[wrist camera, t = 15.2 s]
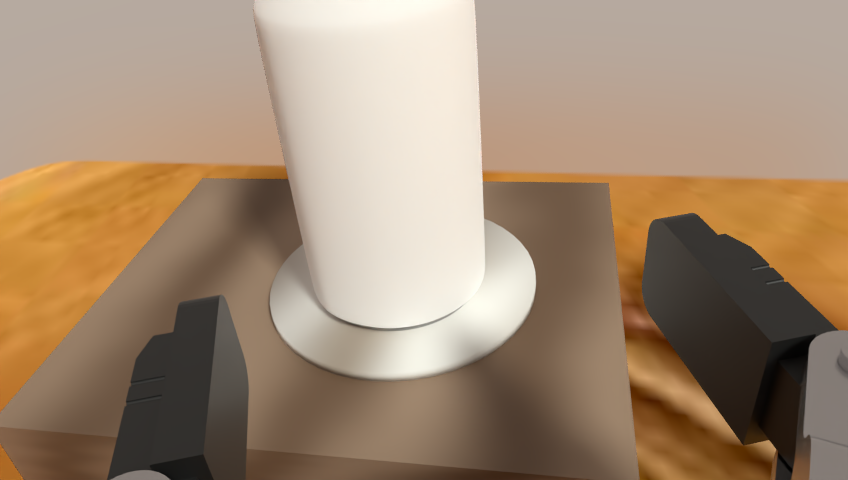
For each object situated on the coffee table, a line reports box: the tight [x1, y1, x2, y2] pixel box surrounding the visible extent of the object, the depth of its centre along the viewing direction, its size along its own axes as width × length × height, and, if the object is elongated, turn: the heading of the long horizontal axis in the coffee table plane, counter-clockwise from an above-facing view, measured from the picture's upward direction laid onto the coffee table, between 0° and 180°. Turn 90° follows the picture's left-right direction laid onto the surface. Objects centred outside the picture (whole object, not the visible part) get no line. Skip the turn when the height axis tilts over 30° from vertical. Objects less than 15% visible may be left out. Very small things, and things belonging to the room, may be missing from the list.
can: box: [253, 0, 485, 331], centre depth 22 cm, size 6×6×12 cm
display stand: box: [0, 178, 639, 480], centre depth 27 cm, size 20×16×3 cm
